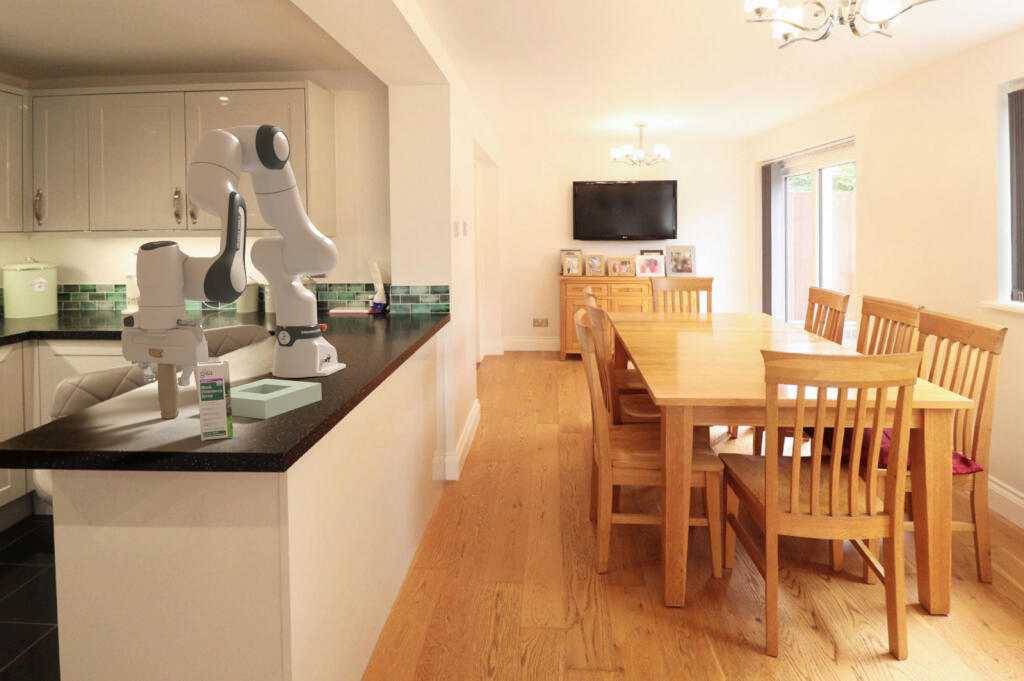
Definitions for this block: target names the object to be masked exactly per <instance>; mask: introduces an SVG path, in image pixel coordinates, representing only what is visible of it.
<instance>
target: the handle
mask: <svg viewBox="0 0 1024 681" xmlns="http://www.w3.org/2000/svg"><path fill="white" fill-rule="evenodd" d="M148 350H149V355H150V356H152V357H156V358H162V357H163V355H161V352H163V350H159V349H148ZM179 391H180V390H179V385H178V375H177V367H176V365H175V364H162V363H157V397H158V405H159V409H160V411H161V412H160V416H161V418H162V419H166V420H170V419H175V418H178V416H179V413H180V412H179V411H180V410H178V409H179V405H180V392H179Z"/></svg>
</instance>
